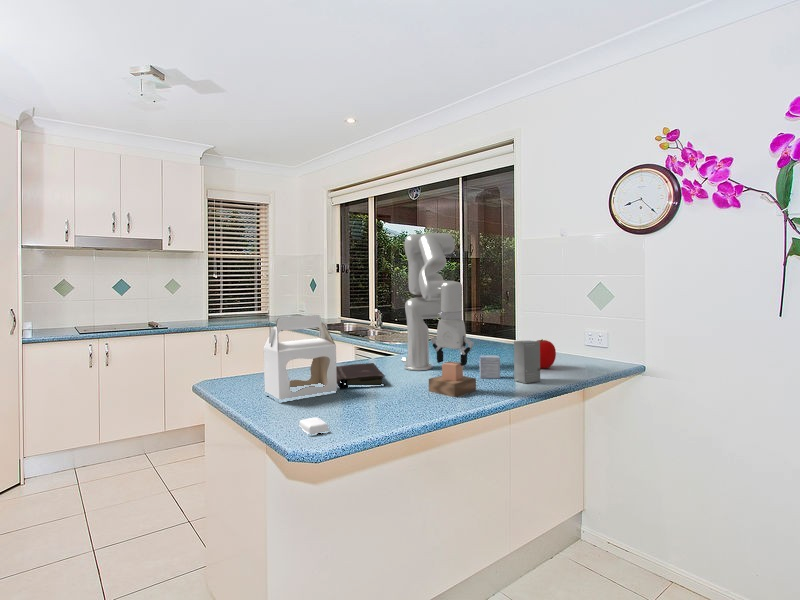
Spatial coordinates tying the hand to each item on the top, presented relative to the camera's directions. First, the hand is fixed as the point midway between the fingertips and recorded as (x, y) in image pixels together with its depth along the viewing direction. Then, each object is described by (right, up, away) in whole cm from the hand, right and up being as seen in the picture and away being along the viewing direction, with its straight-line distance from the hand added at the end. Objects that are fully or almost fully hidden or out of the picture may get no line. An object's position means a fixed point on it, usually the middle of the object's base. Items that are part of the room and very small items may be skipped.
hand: (451, 363), depth 173 cm
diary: (-35, -10, +19) cm, 41 cm away
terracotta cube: (0, -5, 0) cm, 5 cm away
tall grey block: (+31, -9, +15) cm, 35 cm away
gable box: (-54, -11, -2) cm, 55 cm away
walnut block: (0, -10, 0) cm, 10 cm away
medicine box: (+18, -9, +22) cm, 30 cm away
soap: (-42, -13, -41) cm, 60 cm away
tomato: (+44, -7, +39) cm, 60 cm away
